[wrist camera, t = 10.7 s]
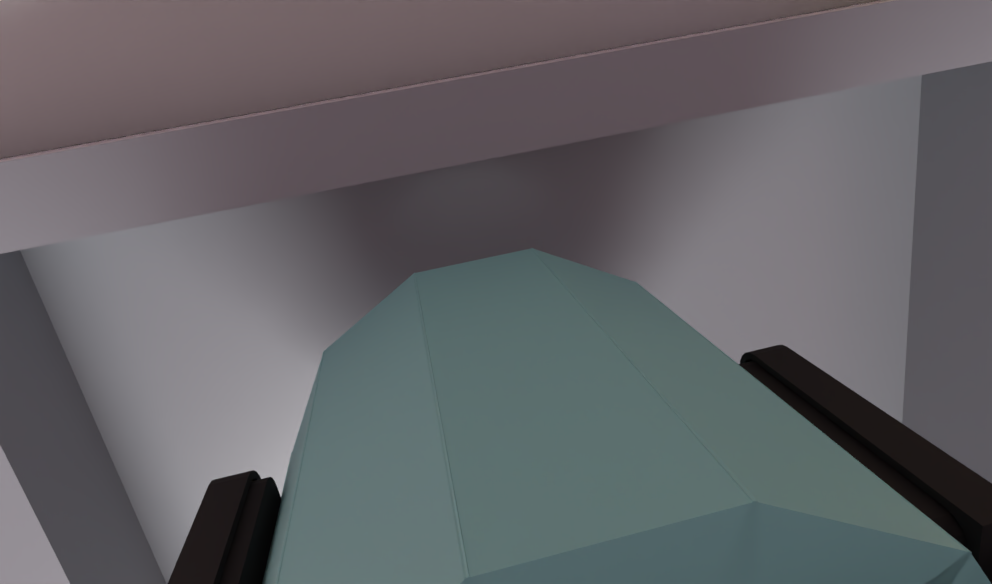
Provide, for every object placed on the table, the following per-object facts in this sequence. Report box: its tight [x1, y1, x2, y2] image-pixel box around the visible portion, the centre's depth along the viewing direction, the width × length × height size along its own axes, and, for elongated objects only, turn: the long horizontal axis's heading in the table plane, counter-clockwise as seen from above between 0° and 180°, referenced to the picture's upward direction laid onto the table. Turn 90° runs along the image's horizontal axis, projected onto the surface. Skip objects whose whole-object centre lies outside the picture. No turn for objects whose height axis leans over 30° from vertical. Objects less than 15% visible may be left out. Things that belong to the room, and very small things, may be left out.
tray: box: [0, 0, 992, 584], centre depth 13 cm, size 20×16×3 cm
